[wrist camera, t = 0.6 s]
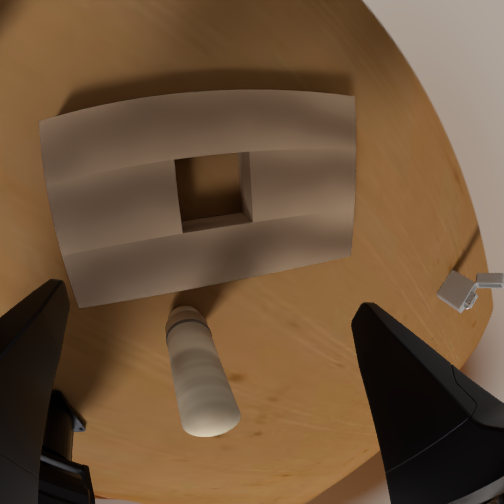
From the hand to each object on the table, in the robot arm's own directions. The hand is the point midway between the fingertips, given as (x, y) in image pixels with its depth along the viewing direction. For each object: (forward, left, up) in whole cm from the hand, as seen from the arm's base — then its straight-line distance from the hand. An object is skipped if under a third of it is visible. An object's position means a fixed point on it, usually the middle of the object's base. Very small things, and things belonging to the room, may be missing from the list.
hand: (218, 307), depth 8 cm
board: (+1, -2, -12) cm, 13 cm away
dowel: (-9, +1, -12) cm, 15 cm away
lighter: (-13, -33, -13) cm, 38 cm away
